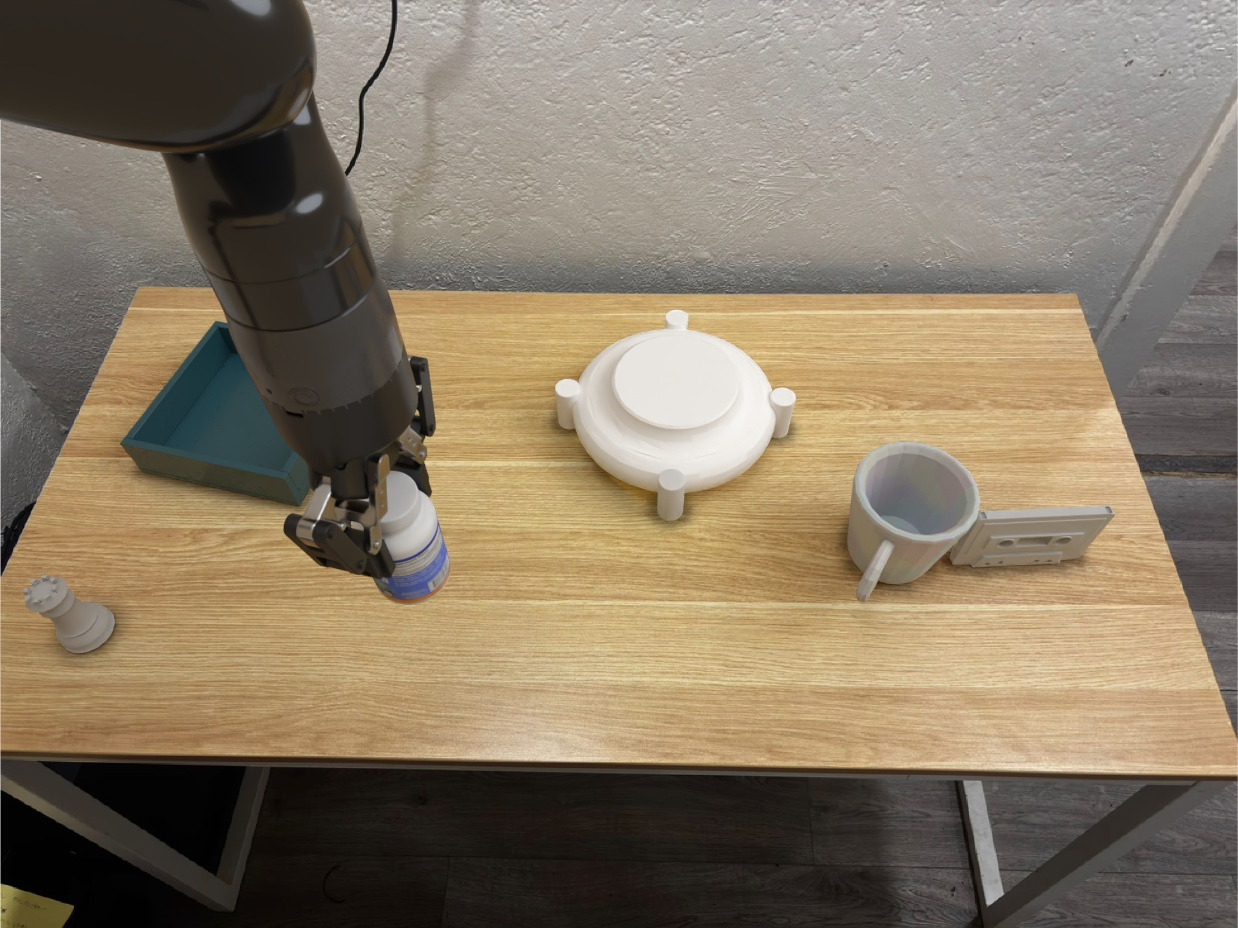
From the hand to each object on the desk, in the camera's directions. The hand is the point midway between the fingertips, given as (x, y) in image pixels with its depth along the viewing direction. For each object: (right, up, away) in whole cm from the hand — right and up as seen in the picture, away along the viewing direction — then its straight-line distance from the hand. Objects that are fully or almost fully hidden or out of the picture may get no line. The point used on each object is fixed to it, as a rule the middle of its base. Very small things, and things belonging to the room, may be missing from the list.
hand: (397, 532), depth 55 cm
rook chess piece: (-32, -10, +19) cm, 39 cm away
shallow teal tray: (-23, +9, +33) cm, 41 cm away
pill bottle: (0, -3, +5) cm, 6 cm away
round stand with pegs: (+20, +8, +32) cm, 39 cm away
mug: (+38, -5, +22) cm, 45 cm away
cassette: (+51, -4, +22) cm, 56 cm away
